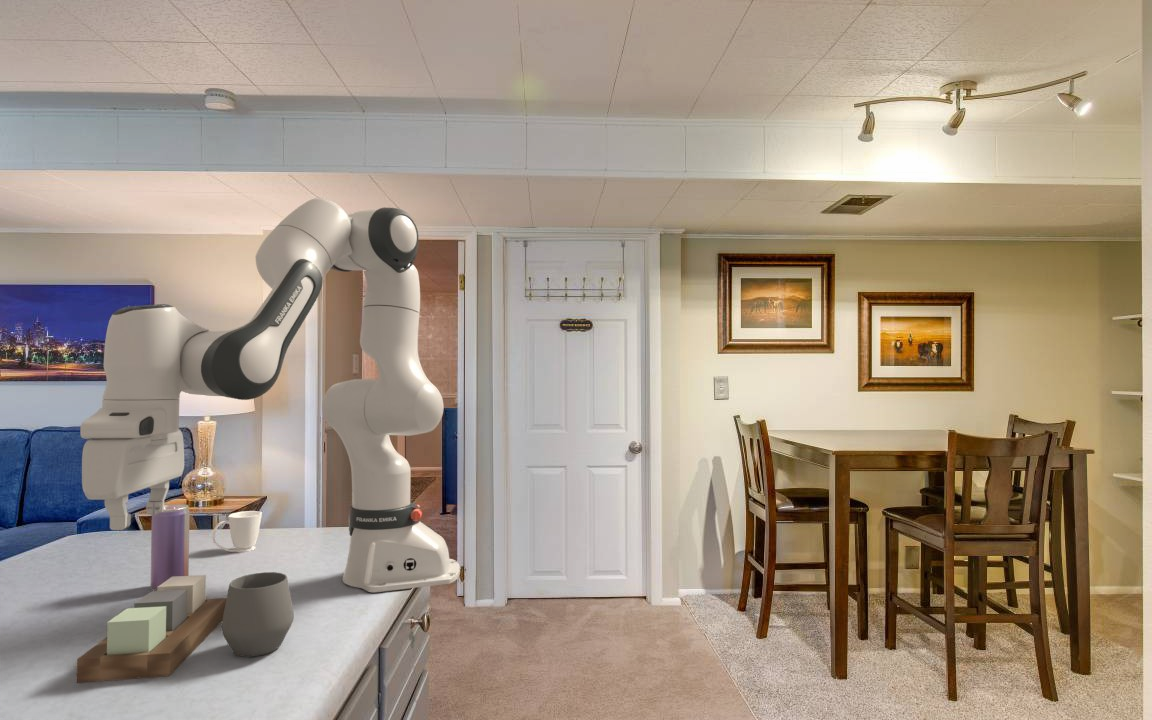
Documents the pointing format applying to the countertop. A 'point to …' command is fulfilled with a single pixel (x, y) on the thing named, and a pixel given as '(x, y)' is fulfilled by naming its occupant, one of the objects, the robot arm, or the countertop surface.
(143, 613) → the sage key
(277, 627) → the cup
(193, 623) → the wooden tray
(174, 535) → the beverage can
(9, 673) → the countertop surface
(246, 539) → the cup
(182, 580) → the ivory key
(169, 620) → the graphite key
